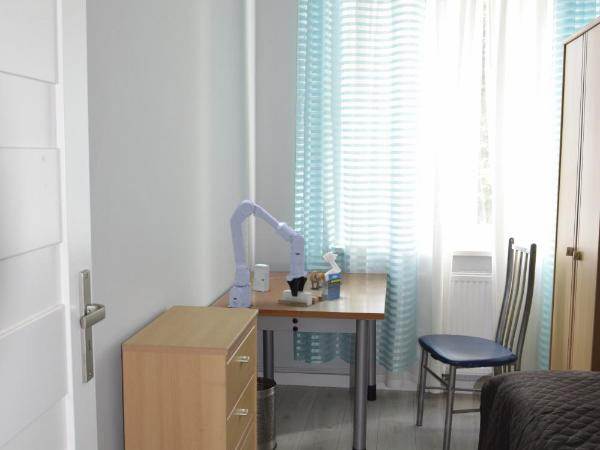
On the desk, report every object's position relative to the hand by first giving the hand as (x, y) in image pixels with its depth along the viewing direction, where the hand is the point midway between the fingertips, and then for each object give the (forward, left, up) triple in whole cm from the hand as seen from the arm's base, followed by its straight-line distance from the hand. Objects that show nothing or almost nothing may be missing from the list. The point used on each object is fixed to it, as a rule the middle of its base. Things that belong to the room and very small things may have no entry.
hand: (297, 295), depth 301 cm
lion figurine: (+42, +12, -5) cm, 44 cm away
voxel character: (+57, +12, -5) cm, 58 cm away
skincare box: (+22, +31, -5) cm, 38 cm away
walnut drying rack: (+4, 0, -4) cm, 6 cm away
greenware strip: (0, 0, -3) cm, 3 cm away
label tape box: (+18, -7, -5) cm, 20 cm away
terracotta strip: (+7, 0, -3) cm, 8 cm away
